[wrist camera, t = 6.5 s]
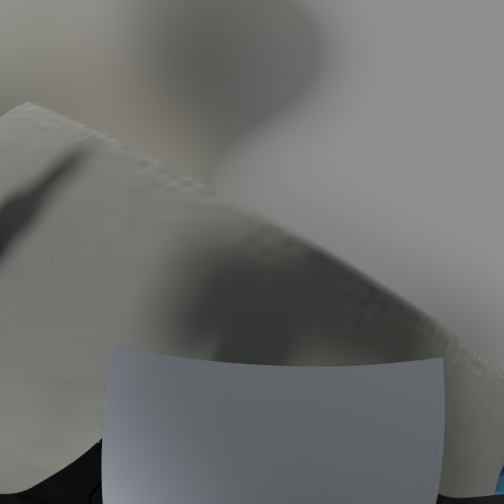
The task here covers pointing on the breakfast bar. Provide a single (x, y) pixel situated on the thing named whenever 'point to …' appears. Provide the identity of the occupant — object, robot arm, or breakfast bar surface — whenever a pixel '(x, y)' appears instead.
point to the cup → (500, 484)
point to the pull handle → (271, 432)
